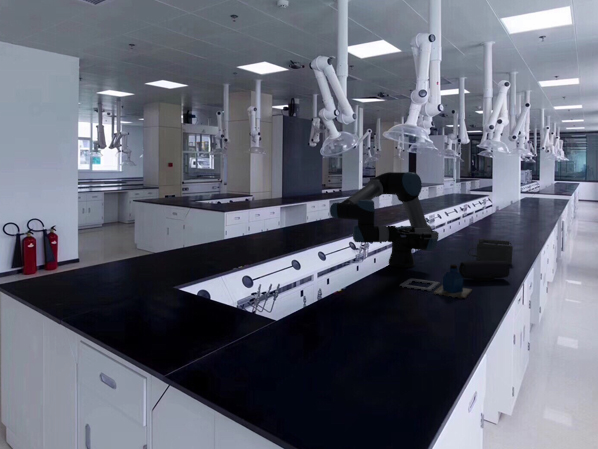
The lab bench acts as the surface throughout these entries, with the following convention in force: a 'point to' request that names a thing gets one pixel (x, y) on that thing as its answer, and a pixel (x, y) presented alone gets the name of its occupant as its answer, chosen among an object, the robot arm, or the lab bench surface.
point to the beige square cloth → (458, 294)
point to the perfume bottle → (453, 280)
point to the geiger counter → (493, 251)
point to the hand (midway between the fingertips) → (433, 233)
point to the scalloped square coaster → (418, 286)
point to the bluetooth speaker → (484, 270)
